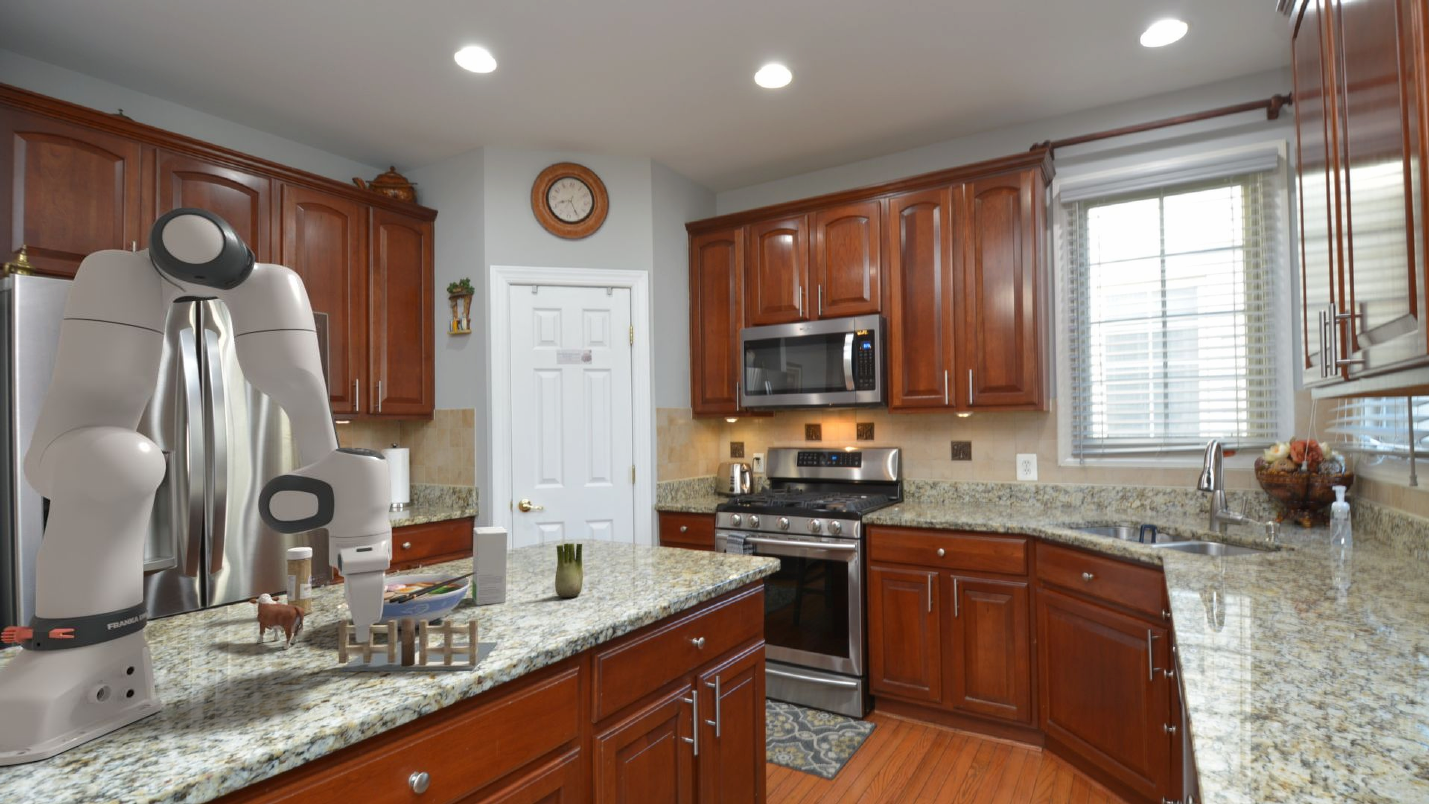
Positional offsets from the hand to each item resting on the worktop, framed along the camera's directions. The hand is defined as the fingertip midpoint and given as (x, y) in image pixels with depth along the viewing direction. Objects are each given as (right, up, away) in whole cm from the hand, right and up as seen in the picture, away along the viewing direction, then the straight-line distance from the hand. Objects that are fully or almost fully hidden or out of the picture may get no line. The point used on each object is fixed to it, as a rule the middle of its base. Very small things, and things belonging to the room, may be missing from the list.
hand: (362, 639), depth 111 cm
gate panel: (0, -4, +3) cm, 5 cm away
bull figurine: (-23, -6, +16) cm, 29 cm away
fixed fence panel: (+12, -5, +3) cm, 14 cm away
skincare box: (+6, -7, +45) cm, 46 cm away
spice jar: (-30, -7, +35) cm, 46 cm away
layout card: (+6, -5, +7) cm, 11 cm away
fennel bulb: (+23, -6, +47) cm, 52 cm away
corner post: (+6, -5, +3) cm, 8 cm away
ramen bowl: (-4, -6, +27) cm, 28 cm away
